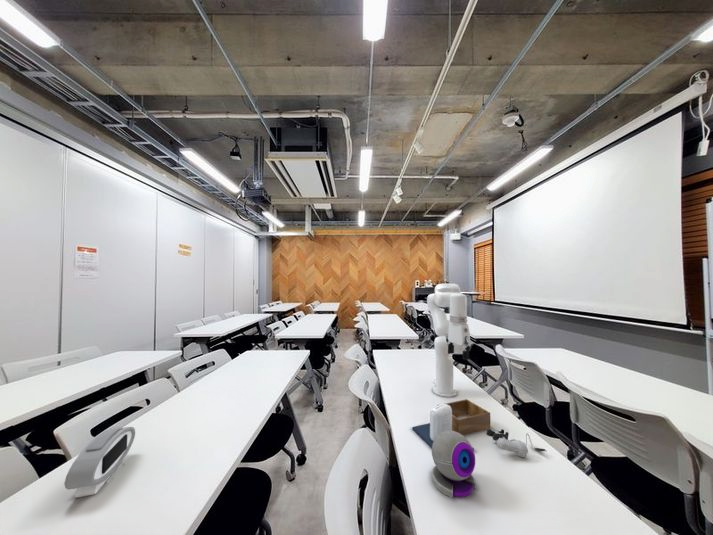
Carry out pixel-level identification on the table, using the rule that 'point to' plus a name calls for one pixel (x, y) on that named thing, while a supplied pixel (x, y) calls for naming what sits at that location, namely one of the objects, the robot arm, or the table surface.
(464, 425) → the wooden box
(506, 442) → the clip-on lamp
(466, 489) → the webcam
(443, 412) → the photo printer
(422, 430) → the mat
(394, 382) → the table surface
